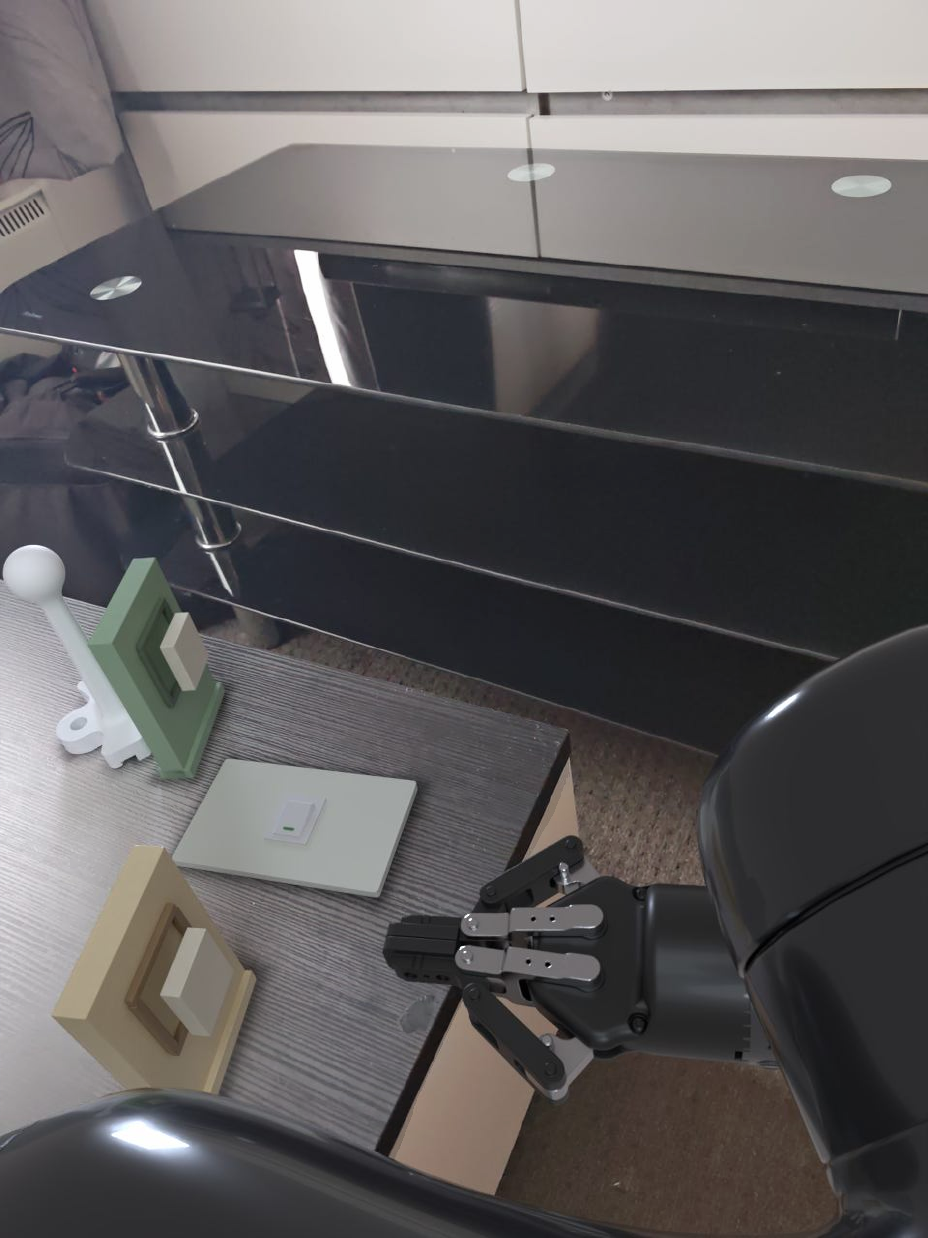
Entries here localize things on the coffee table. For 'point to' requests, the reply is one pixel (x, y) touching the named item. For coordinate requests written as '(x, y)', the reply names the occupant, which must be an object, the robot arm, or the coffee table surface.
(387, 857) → the light switch
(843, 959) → the robot arm
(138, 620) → the far plate
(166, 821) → the coffee table surface
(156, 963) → the near plate
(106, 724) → the joystick
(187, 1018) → the near switch
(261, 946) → the coffee table surface
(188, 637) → the far switch
